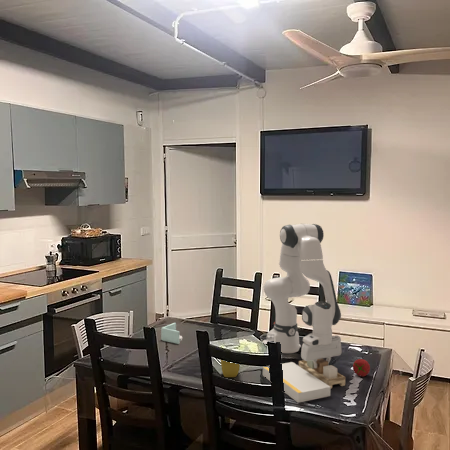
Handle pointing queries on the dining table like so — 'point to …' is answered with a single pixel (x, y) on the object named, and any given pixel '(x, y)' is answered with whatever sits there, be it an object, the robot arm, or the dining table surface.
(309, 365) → the block
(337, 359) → the dining table surface
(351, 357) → the dining table surface
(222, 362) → the flower pot
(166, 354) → the dining table surface
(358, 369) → the tomato
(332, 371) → the block
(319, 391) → the dock
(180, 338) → the l-shaped corner panel
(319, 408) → the dining table surface
